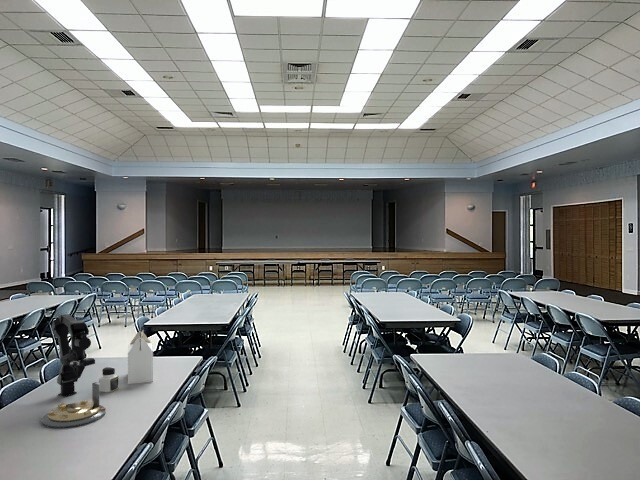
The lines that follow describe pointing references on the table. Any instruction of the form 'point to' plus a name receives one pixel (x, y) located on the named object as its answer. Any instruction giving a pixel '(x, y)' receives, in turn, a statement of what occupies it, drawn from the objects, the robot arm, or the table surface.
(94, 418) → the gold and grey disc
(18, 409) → the table surface
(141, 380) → the gable box
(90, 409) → the gold wheel with handle
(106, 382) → the medicine bottle
